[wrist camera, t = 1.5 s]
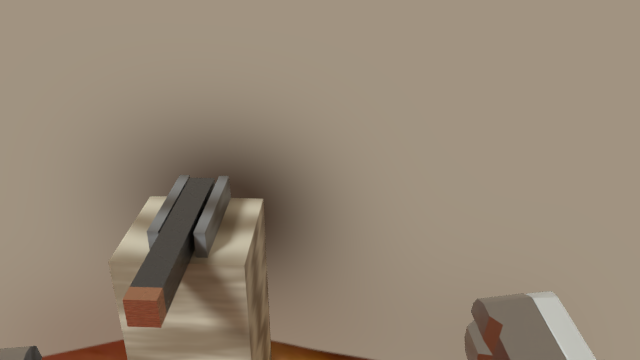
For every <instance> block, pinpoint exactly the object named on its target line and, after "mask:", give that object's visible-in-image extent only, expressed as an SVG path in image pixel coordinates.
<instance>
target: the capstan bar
mask: <svg viewBox="0 0 640 360" xmlns="http://www.w3.org/2000/svg"><path fill="white" fill-rule="evenodd" d="M214 186H215V182H214V178H190V179H189V180H188V182H187V184H186V186H185V188H184V189H183V191H182V193H181V195H180V197H179V198H178V200H177V202H176V204H175V206H174V207H173V209H172V211H171V213H170V215H169V216H168V218H167V220H166V222H165V224H164V225H163V227H162V229H161V231H160V233H159V234H158V236H157V238H156V240H155V242H154V243H153V245H152V247H151V249H150V251H149V253H148V254H147V256H146V258H145V260H144V262H143V263H142V265H141V267H140V269H139V271H138V272H137V274H136V276H135V278H134V280H133V281H132V283H131V285H130V287H129V289H128V290H127V292H126V294H125V296H124V298H123V299H122V300H123V305H124V311H125V316H126V321H127V326H128V327H155V328H161V327H162V324H163V322H164V320H165V317H166V315H167V313H168V310H169V308H170V306H171V303H172V301H173V299H174V296H175V294H176V292H177V290H178V287H179V285H180V283H181V280H182V278H183V276H184V273H185V271H186V269H187V266H188V264H189V262H190V259H191V257H192V255H193V253H194V250H195V242H194V234H193V232H194V230H195V228H196V226H197V223H198V221H199V219H200V217H201V215H202V213H203V210H204V208H205V206H206V204H207V202H208V199H209V197H210V195H211V193H212V191H213V188H214Z"/></svg>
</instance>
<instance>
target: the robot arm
mask: <svg viewBox="0 0 640 360" xmlns="http://www.w3.org/2000/svg"><path fill="white" fill-rule="evenodd" d="M471 313H472V315H473V317H474V321H473V322H472V323H470V324H469V325H468V326H467V329H466V334H465V351H466V355H467V359H468V360H596V358H595V356H594V355H593V353H592V352H591V350H590V348H589V347H588V345H587V344H586V342H585V340H584V339H583V337H582V335H581V334H580V332H579V331H578V329H577V328H576V326H575V324H574V322H573V321H572V319H571V318H570V316H569V315H568V313H567V311H566V310H565V308H564V306H563V305H562V303H561V302H560V300H559V298H558V297H557V295H556V294H554V293H553V292H552V291H548V292H538V293H529V294H515V295H506V296H498V297H489V298H481V299H477V300H476V301H475V302H474V303H473V306H472V310H471ZM41 359H42V356H41V354H40V352H39V351H38V348H37V347H36V346H29V347H17V348H4V349H0V360H41Z"/></svg>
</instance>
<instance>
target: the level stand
mask: <svg viewBox="0 0 640 360" xmlns="http://www.w3.org/2000/svg"><path fill="white" fill-rule="evenodd" d="M189 179H190V175H180V176H179V178H178V179H177V181H176V183H175V185H174V186H173V188H172V189H171V191H170V193H169V195H168V196H167V197H162V196H160V197H159V196H151V197H150V198H149V200H148V201H147V203H146V204H145V206H144V207H143V209H142V210H141V212H140V213H139V215H138V217H137V218H136V220H135V221H134V223H133V224H132V226H131V228H130V229H129V230H128V232H127V233H126V235H125V237H124V238H123V240H122V241H121V243H120V244H119V246H118V248H117V249H116V250H115V252H114V254H113V255H112V257H111V258H110V260H109V262H108V263H109V268H110V273H111V277H112V283H113V288H114V292H115V298H116V303H117V308H118V312H119V317H120V323H121V328H122V332H123V338H124V343H125V348H126V353H127V358H128V360H271V341H270V322H269V302H268V284H267V283H268V282H267V263H266V243H265V224H264V204H263V199H248V198H231V197H230V184H229V176H219V178H218V180H217V182H216V184H215V186H214V188H213V191H212V193H211V195H210V197H209V199H208V202H207V204H206V206H205V208H204V210H203V213H202V215H201V217H200V219H199V221H198V223H197V226H196V228H195V230H194V232H193V234H194V242H195V250H194V253H193V255H192V257H191V259H190V262H189V264H188V266H187V269H186V271H185V273H184V276H183V278H182V280H181V283H180V285H179V287H178V290H177V292H176V294H175V296H174V299H173V301H172V303H171V306H170V308H169V310H168V313H167V315H166V317H165V320H164V322H163V324H162V327H161V328H155V327H128V326H127V321H126V316H125V311H124V305H123V300H122V299H123V298H124V296H125V294H126V292H127V290H128V289H129V287H130V285H131V283H132V281H133V280H134V278H135V276H136V274H137V272H138V271H139V269H140V267H141V265H142V263H143V262H144V260H145V258H146V256H147V254H148V253H149V251H150V249H151V247H152V245H153V243H154V242H155V240H156V238H157V236H158V234H159V233H160V231H161V229H162V227H163V225H164V224H165V222H166V220H167V218H168V216H169V215H170V213H171V211H172V209H173V207H174V206H175V204H176V202H177V200H178V198H179V197H180V195H181V193H182V191H183V189H184V188H185V186H186V184H187V182H188V180H189Z"/></svg>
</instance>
